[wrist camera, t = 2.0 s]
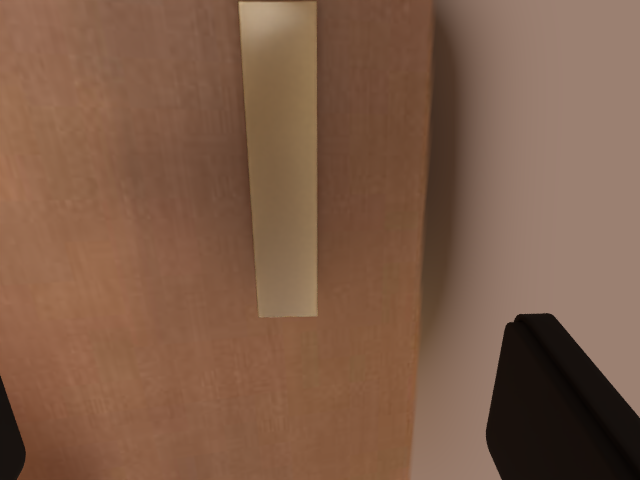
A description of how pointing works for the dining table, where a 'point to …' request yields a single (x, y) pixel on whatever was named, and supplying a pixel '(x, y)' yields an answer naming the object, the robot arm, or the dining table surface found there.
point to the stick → (282, 151)
